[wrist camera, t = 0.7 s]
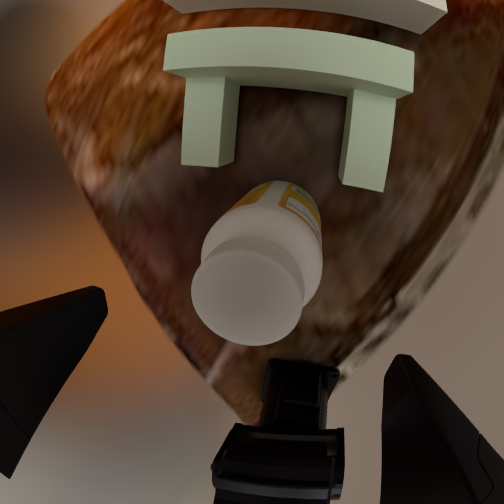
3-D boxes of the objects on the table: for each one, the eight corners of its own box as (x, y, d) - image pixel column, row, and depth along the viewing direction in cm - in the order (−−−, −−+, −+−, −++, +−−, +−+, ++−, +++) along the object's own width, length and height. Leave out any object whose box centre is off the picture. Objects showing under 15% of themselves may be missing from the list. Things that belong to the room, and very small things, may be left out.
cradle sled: (372, 182, 16) (397, 204, 11) (200, 159, 17) (157, 171, 12) (385, 75, 13) (414, 52, 8) (208, 57, 14) (167, 34, 9)
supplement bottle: (237, 251, 20) (177, 343, 11) (241, 175, 17) (167, 219, 9) (313, 263, 19) (306, 370, 10) (326, 185, 17) (338, 244, 8)
